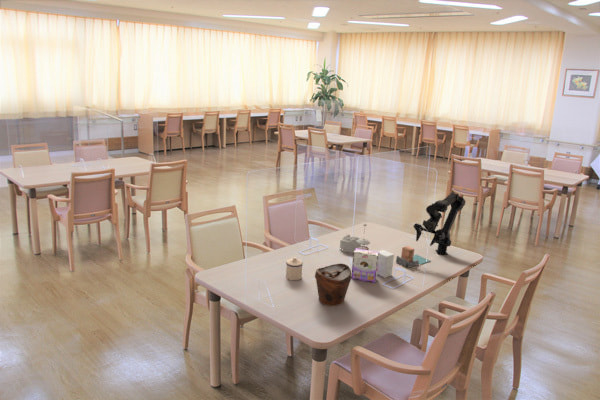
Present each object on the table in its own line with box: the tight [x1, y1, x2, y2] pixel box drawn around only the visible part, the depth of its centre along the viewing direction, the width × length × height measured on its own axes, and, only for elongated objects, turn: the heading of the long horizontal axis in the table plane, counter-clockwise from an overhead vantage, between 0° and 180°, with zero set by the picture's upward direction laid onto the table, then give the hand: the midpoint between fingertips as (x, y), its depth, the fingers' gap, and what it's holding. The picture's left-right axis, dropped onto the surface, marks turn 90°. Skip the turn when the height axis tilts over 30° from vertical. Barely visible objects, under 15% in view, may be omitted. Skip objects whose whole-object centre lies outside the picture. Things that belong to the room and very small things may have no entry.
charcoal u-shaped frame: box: [395, 255, 419, 268], centre depth 299 cm, size 10×9×4 cm
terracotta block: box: [400, 245, 415, 262], centre depth 298 cm, size 5×5×10 cm
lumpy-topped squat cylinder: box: [339, 234, 362, 253], centre depth 315 cm, size 10×13×9 cm
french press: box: [357, 223, 371, 251], centre depth 294 cm, size 10×12×25 cm
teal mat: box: [413, 254, 431, 266], centre depth 306 cm, size 10×11×1 cm
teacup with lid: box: [285, 256, 303, 281], centre depth 273 cm, size 12×9×12 cm
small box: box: [377, 249, 395, 278], centre depth 281 cm, size 8×6×13 cm
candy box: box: [351, 248, 380, 284], centre depth 274 cm, size 14×6×16 cm, turn 71°
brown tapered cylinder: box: [314, 263, 352, 307], centre depth 248 cm, size 18×20×18 cm
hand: (423, 243), depth 295 cm, fingers open, 9 cm apart
